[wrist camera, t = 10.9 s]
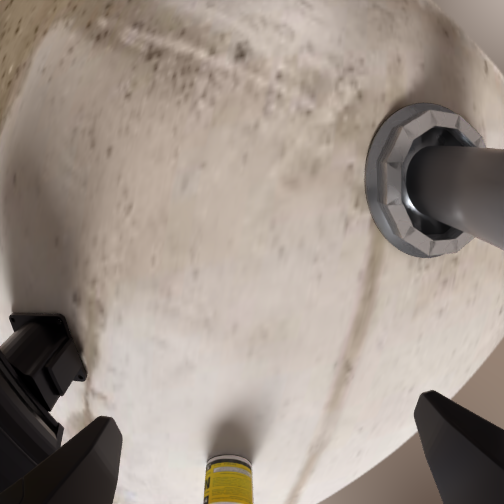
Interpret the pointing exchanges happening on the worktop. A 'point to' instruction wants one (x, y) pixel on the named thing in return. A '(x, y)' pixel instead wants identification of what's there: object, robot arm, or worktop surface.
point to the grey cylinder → (460, 189)
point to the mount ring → (394, 177)
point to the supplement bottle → (228, 481)
